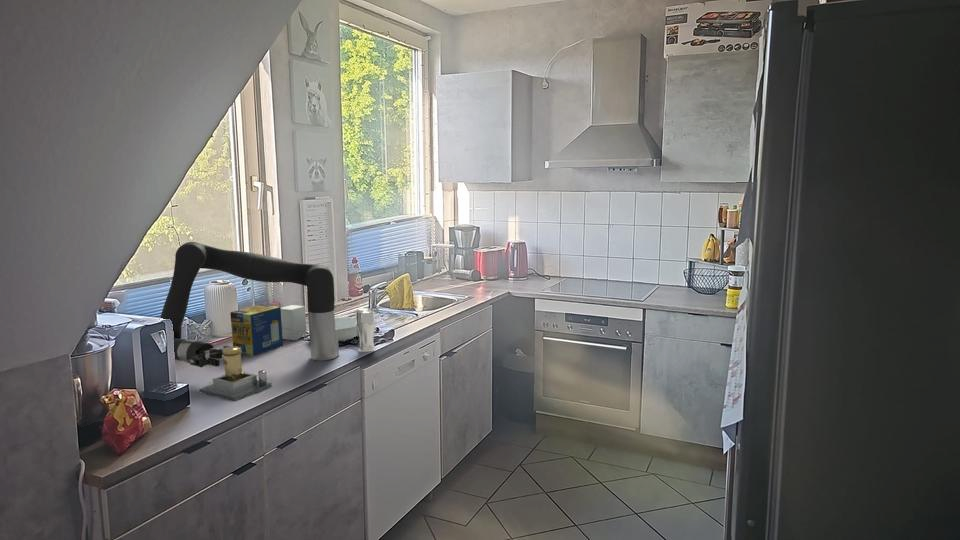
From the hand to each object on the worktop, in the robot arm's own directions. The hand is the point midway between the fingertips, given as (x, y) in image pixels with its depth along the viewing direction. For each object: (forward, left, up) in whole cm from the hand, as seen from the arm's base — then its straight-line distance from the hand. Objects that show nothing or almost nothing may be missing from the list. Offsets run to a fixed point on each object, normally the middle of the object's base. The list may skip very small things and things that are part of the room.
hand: (230, 359), depth 198 cm
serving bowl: (-59, -10, -10) cm, 61 cm away
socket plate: (0, +1, -9) cm, 10 cm away
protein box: (-35, -28, -10) cm, 46 cm away
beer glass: (-52, +10, -10) cm, 54 cm away
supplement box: (-53, -28, -10) cm, 61 cm away
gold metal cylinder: (0, +1, -8) cm, 9 cm away
